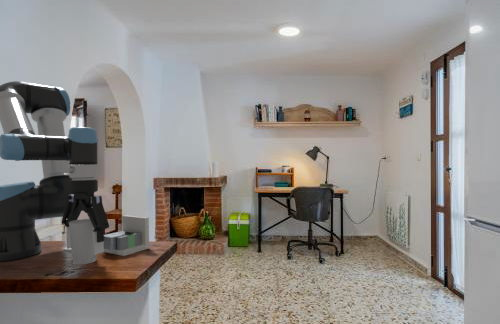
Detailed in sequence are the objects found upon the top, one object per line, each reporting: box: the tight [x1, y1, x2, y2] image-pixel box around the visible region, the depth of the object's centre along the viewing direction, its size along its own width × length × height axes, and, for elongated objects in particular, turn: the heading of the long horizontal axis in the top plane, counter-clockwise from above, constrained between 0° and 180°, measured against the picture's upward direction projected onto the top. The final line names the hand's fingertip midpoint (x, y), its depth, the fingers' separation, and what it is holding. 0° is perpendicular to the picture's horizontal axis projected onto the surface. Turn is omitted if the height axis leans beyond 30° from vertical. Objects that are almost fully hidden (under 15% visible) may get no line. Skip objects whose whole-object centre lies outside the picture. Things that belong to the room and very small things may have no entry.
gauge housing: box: [103, 214, 150, 257], centre depth 104 cm, size 12×10×10 cm
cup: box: [69, 218, 98, 266], centre depth 92 cm, size 8×8×12 cm
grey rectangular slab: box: [104, 230, 134, 250], centre depth 101 cm, size 8×8×5 cm
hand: (84, 250), depth 92 cm, fingers open, 13 cm apart
